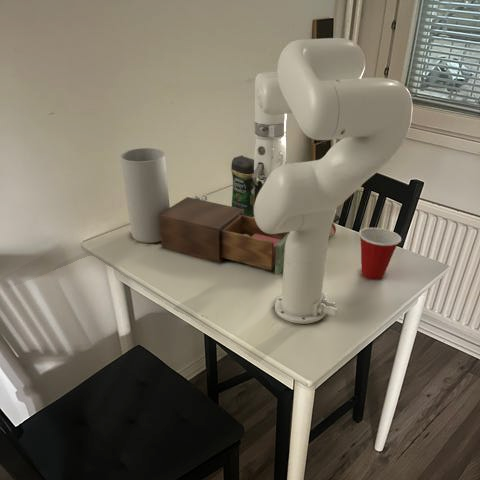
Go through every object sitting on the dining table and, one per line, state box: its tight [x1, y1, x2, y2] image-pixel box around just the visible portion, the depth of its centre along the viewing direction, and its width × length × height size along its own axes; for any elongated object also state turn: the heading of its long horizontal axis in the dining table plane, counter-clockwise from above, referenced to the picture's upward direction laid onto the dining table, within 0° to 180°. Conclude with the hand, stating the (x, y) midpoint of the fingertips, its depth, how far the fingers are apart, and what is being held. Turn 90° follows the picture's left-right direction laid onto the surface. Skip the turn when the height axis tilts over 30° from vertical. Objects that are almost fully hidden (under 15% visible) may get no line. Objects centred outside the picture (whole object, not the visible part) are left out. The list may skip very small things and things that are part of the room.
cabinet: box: [159, 196, 244, 264], centre depth 144 cm, size 20×15×11 cm
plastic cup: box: [358, 227, 402, 280], centre depth 130 cm, size 11×11×12 cm
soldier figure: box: [194, 195, 208, 201], centre depth 166 cm, size 8×5×12 cm
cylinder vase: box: [119, 147, 171, 244], centre depth 146 cm, size 12×12×25 cm
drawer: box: [220, 215, 290, 276], centre depth 136 cm, size 24×14×9 cm, turn 62°
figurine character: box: [329, 214, 342, 238], centre depth 147 cm, size 7×8×15 cm
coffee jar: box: [230, 155, 255, 217], centre depth 161 cm, size 10×8×19 cm
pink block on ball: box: [243, 234, 281, 261], centre depth 138 cm, size 13×5×5 cm, turn 62°
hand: (268, 197), depth 128 cm, fingers open, 9 cm apart
